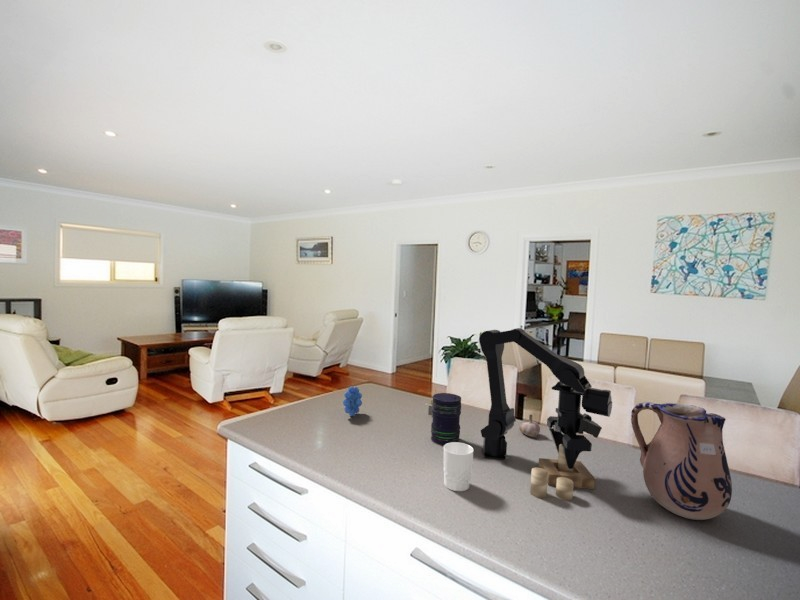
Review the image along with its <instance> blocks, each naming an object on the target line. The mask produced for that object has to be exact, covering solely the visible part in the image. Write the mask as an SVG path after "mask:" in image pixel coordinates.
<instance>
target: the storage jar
mask: <svg viewBox="0 0 800 600" xmlns="http://www.w3.org/2000/svg"><path fill="white" fill-rule="evenodd" d="M432 399H433V403H432V413H433V416H432V422H431V424H430V425H431V427H430V434H431V435H430V440H431V442H432V443H434V444H435V445H439V446H443V447H444V445H445V444H447V443H451V442H459V443H460V434H461V425H460V417H461V414H462V397H461V396H460V395H457V394H455V393H447V392H441V393H439V392H438V393H434V394H433V395H432Z"/></svg>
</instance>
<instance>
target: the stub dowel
mask: <svg viewBox="0 0 800 600" xmlns="http://www.w3.org/2000/svg"><path fill="white" fill-rule="evenodd" d="M555 496H556V497H557V498H559V499H560V500H563V501H571V500H573V496H574V487H573V481H572V480H570V479H568V478H565V477H558V478H557V483H556V486H555Z"/></svg>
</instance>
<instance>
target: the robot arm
mask: <svg viewBox="0 0 800 600" xmlns="http://www.w3.org/2000/svg"><path fill="white" fill-rule="evenodd" d="M478 342H479V346H480V349H481V352H482V354H483V356H484V357H485V359H486V360H485V361H486V366H487V367H486V368H487V375H488V376H487V377H488V386H489V395H490V403H491V404H490V410H489V413H488V421H487V422H488V424H487V425H485V426H484V427H483V428H481V429H480V434H481V437H482V438H483V441H482V443H483V445H482V447H481V451H482V454H483V458H485V459H495V460H506V459H507V457H506V455H507V449H508V448H507V447H508V442H507V440H506V436H505V435H507V434H508V432H509V431H510V430H512V429H513V427H514V426H515V422H516V417H515V408H514V407H513V408H510V406H509V405H508V403H507V395H506V387H505V385H506V384H505V379H504V368H503V360H502V357H503V355H504V354H503V353H504V350H505V344H508V343H515V344H516V345H518V346H520V347H521V348H522V349H523V350H525V351H526V352H527V353H529V355H532V357H534V358H535V359H537V360H538V361H540V362H541V363H542V364H544V365H545V366H546V367H547V368H548V369H549V370H550V372H551V373H552V375H554V376H555V378H556V379H558V381H557V383H556V384H555V385H553V386H552V387H551V390H554V391H558V404H557V405H558V407H556V408H555V413H556V414H557V416H553V415H552V416H551V415H550V416H549V417H547V419H546V426H547V427H548V428H549V429H548V430H549V432H550V435H551V439H552V440H553V442H554V443H553V444H554V445H555V448H556V450H557V454H558V455H559V445H560V444H561V445H562V448H563V452H564V455H565V459H566V463H567V466H568V468H569V469H573V467H574V464H575V462H576V461H578V460H577V459H578V457H579V455H580V454H581V453H583V452H592V450H593V449H592V446H593V445H592V444H593V443H592V442H591V441H590V440H589V439H588V438H587V437H586V436H585V435H583V434H584V433H586V434H588V435H591V436H593V437H594V438H596V439H598V437H599V435H600V434H601V430H602V429H603V428H602V426H601V425H599V424H598V423H596V422H595V421H594V420H592V419H593V418H592V416H591V415H589V414H593V415H599V416H603V417H608V418H610V416H611V414H612V408H613V400H612V394H611V393H612V391H611V390H610V389H609V390H608V389H601V388H600V389H599V388H595V387H592V385H591V383H590V381H589V380H588V378H587V377H586V375H585V370H584V367H583V366H582V365H581V364H580V363H578V362H576V361H574V360H572V359H570V358H567V357H564V356H561V354H557V353H556V352H554V351H553V350H552V349H550V348H549V347H547V346H546V345H545V344H543V343H542V342H540V341H539V340H537V339H536V338H535V337H534V336H532V335H530V334H529V333H528V332H526V330H525V329H523V328H521V327H518V328H512V329H511V330H505V331H500V330H498V329H491V330H483V332H482V333H481V334H480V335H479V337H478ZM581 408H582V409H583V410H585V412H586V413H583V414H582V413H581ZM588 413H589V414H588Z"/></svg>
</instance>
